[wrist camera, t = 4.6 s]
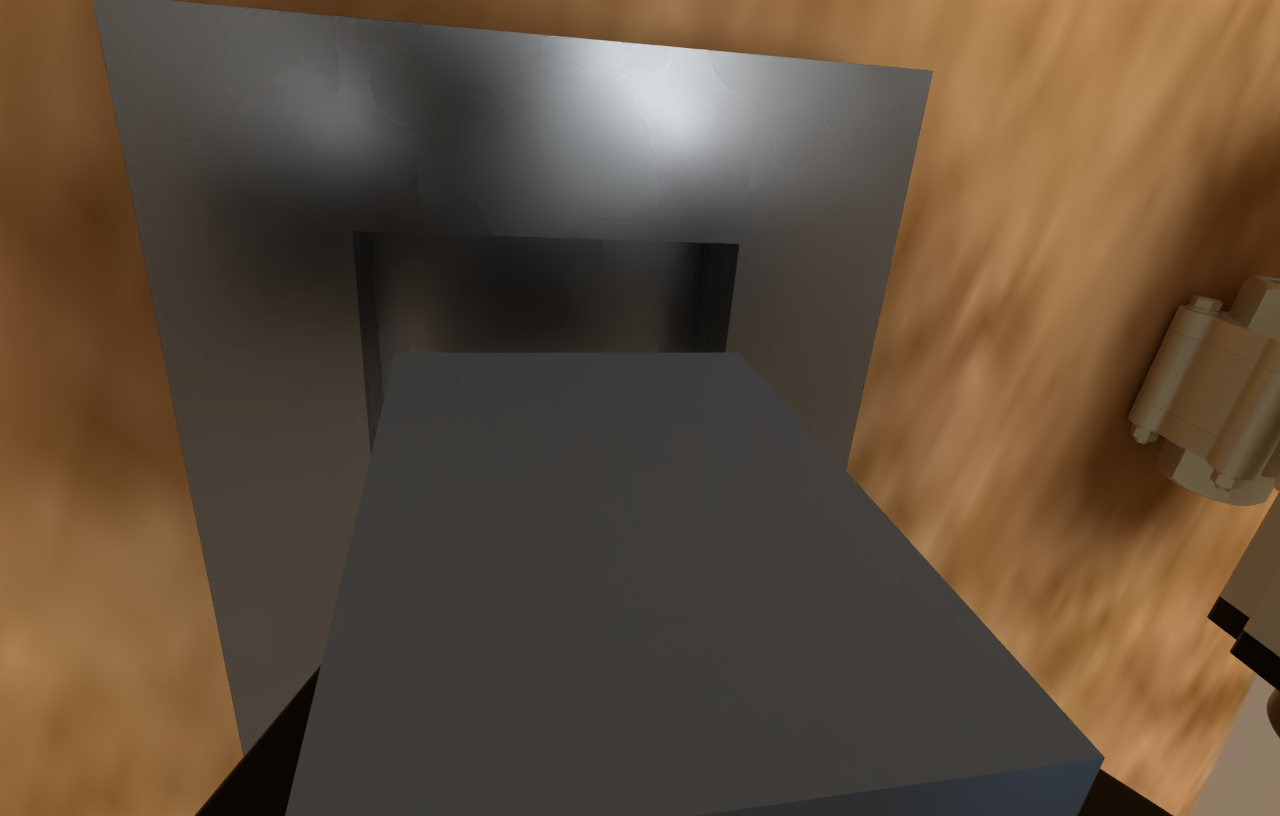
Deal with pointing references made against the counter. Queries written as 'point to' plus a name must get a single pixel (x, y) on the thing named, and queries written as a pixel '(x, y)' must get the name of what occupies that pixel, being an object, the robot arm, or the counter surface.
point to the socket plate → (468, 248)
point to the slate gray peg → (651, 616)
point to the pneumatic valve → (1227, 446)
